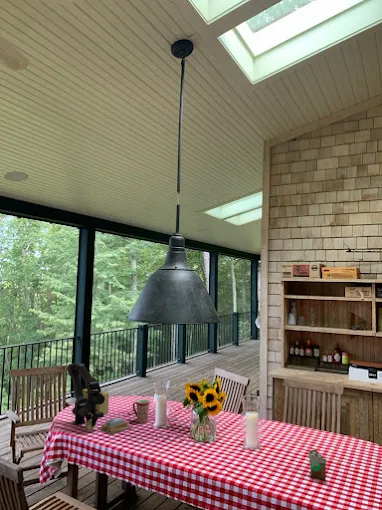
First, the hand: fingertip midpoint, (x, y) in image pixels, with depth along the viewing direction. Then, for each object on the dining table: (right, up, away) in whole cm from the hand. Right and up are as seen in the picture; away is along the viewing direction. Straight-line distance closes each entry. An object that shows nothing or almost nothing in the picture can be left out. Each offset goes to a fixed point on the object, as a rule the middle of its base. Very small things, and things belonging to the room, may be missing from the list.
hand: (90, 426), depth 252 cm
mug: (+29, -3, +16) cm, 33 cm away
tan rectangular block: (0, -1, 0) cm, 1 cm away
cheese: (-7, -4, +33) cm, 34 cm away
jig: (+15, -1, 0) cm, 15 cm away
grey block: (+15, -1, 0) cm, 15 cm away
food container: (+124, +1, -58) cm, 137 cm away
